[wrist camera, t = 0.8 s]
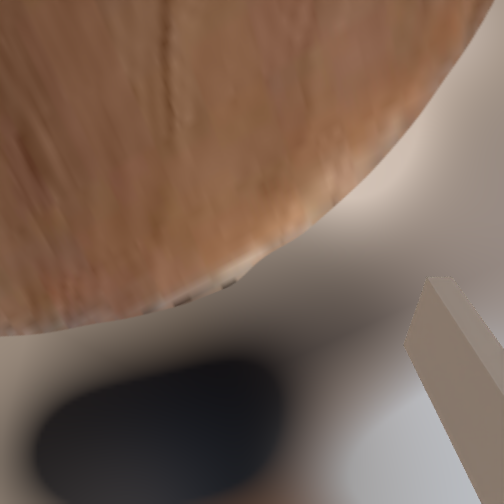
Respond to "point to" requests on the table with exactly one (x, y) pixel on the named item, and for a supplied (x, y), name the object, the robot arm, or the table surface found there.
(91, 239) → the table surface
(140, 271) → the table surface
